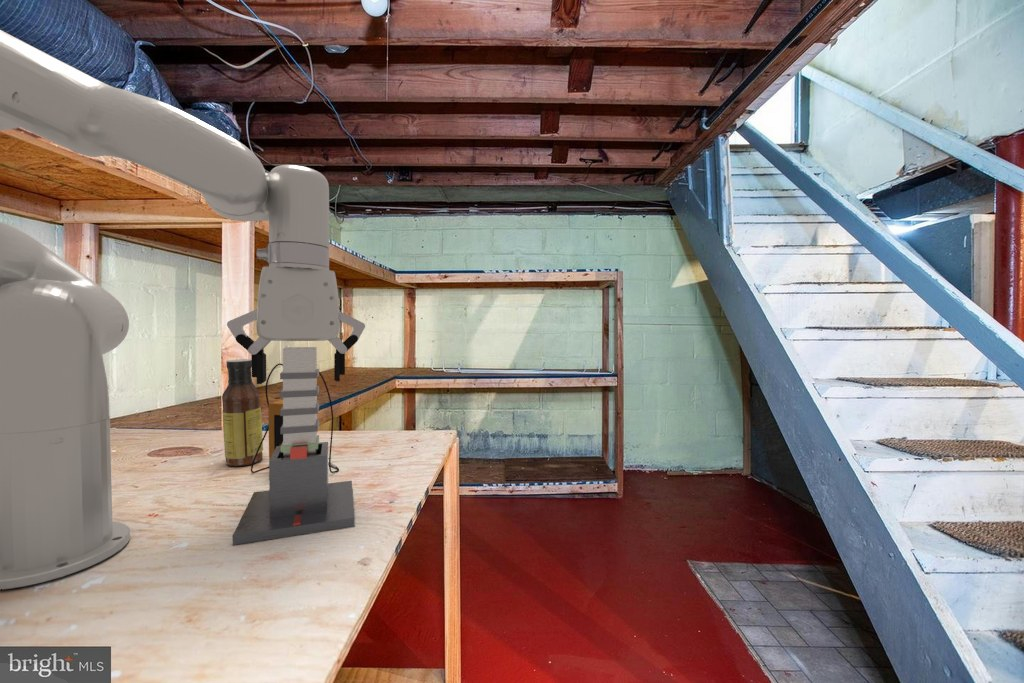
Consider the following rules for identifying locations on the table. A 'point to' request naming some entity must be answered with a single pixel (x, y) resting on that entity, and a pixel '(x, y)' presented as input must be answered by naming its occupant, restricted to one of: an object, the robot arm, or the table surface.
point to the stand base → (297, 499)
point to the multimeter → (277, 423)
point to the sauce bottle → (241, 415)
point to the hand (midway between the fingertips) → (300, 381)
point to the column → (299, 399)
